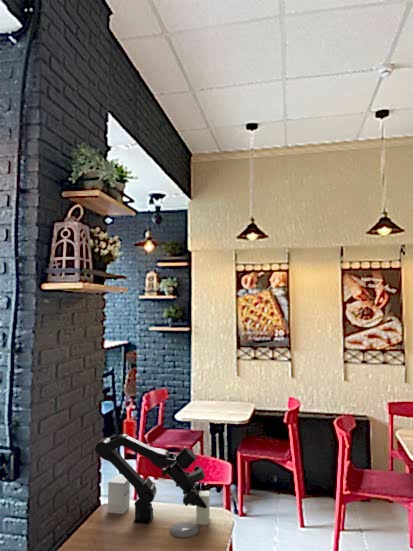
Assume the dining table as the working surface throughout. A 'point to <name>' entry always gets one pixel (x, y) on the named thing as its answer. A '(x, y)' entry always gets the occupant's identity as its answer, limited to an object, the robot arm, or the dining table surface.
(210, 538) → the dining table surface
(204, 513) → the block
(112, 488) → the supplement box
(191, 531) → the slate coaster
